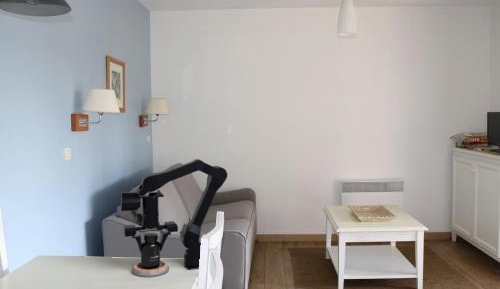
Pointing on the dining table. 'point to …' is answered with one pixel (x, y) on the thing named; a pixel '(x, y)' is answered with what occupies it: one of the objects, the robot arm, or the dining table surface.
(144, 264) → the supplement bottle
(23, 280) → the dining table surface
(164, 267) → the bottle holder
